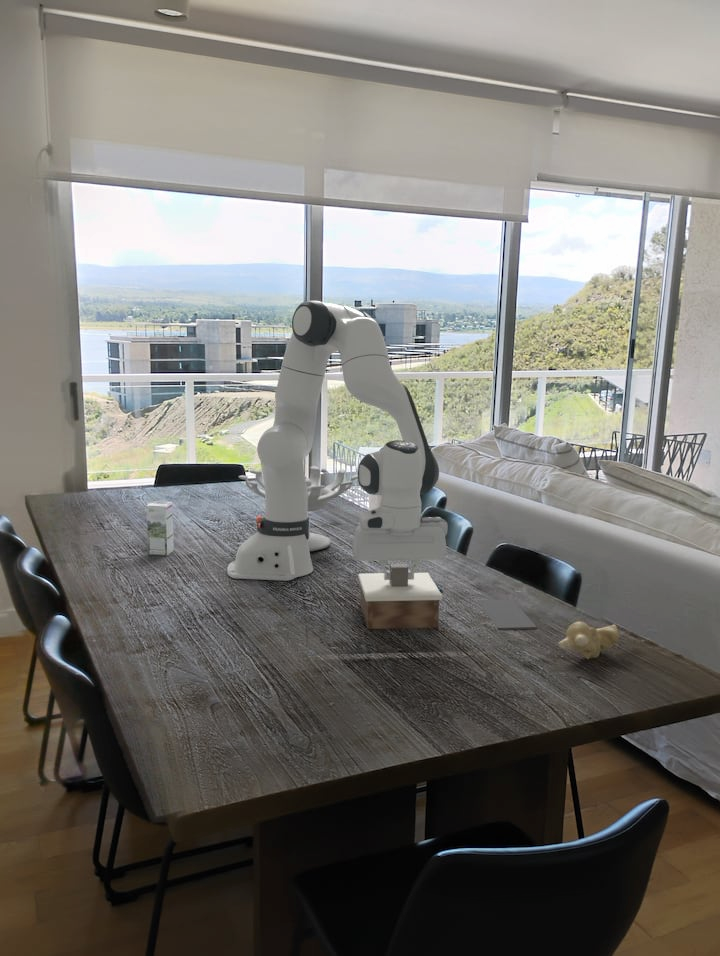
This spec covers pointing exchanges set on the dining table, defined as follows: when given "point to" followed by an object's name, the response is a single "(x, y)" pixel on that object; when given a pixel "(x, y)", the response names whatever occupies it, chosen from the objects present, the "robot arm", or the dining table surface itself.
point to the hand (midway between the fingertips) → (398, 579)
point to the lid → (398, 586)
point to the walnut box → (400, 613)
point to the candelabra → (311, 497)
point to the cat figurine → (589, 639)
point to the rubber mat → (506, 614)
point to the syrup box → (160, 528)
